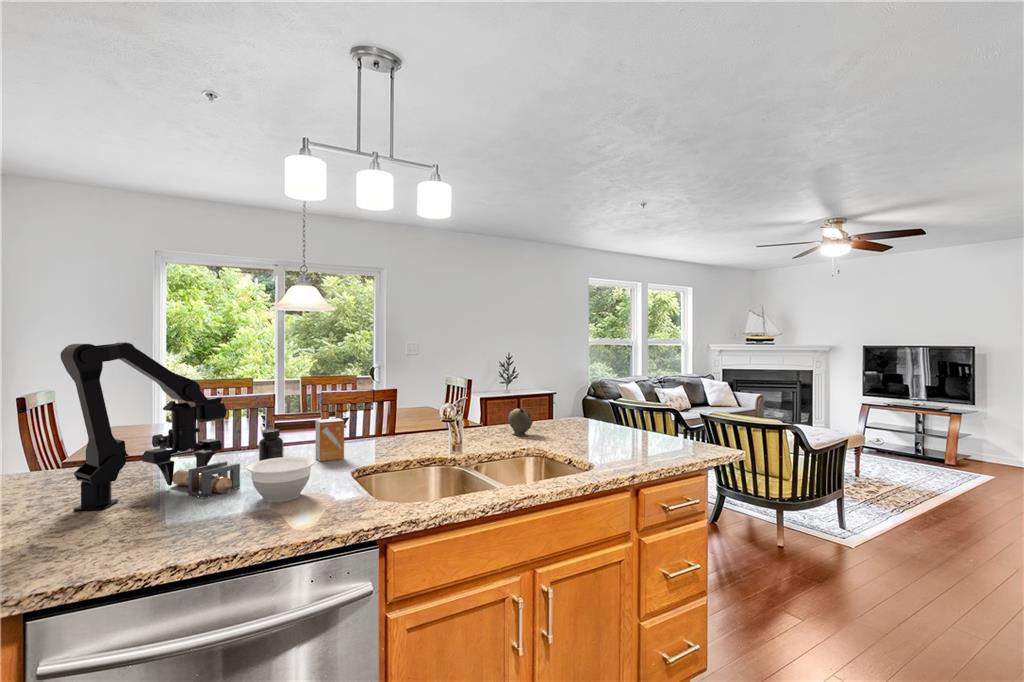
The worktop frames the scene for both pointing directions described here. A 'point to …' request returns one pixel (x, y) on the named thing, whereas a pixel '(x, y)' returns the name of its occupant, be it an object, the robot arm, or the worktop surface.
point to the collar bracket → (207, 474)
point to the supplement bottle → (270, 445)
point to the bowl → (280, 477)
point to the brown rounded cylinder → (218, 482)
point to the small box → (329, 439)
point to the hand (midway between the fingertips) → (184, 481)
